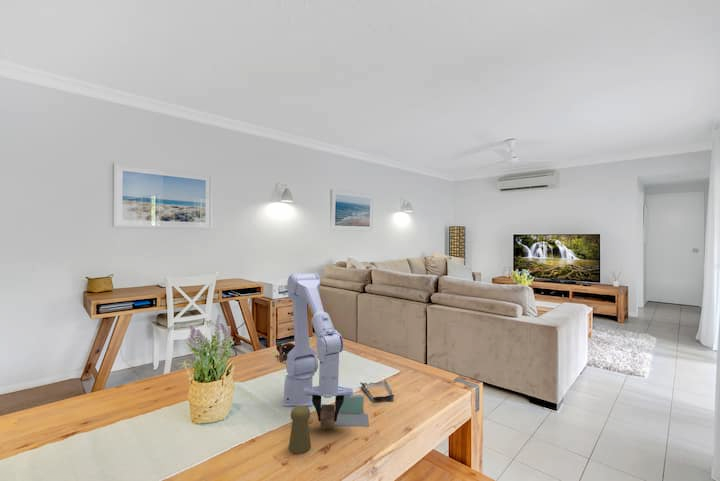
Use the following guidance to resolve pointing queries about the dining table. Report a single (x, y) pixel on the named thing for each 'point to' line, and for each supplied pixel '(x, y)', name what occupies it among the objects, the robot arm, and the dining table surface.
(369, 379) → the dining table surface
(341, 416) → the felt mat
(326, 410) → the walnut block
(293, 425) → the olive green pepper mill
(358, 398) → the glazed tile
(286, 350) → the pottery mug
